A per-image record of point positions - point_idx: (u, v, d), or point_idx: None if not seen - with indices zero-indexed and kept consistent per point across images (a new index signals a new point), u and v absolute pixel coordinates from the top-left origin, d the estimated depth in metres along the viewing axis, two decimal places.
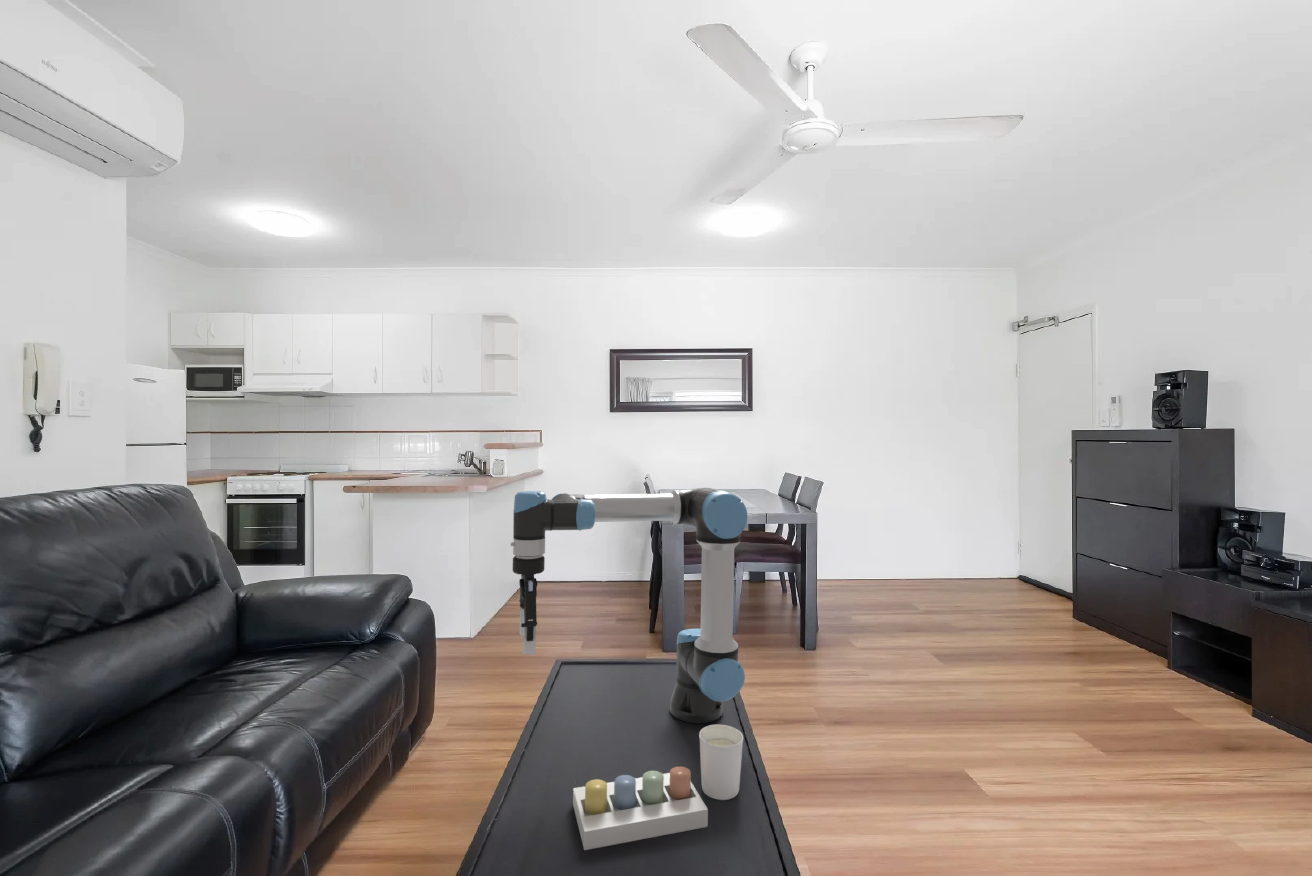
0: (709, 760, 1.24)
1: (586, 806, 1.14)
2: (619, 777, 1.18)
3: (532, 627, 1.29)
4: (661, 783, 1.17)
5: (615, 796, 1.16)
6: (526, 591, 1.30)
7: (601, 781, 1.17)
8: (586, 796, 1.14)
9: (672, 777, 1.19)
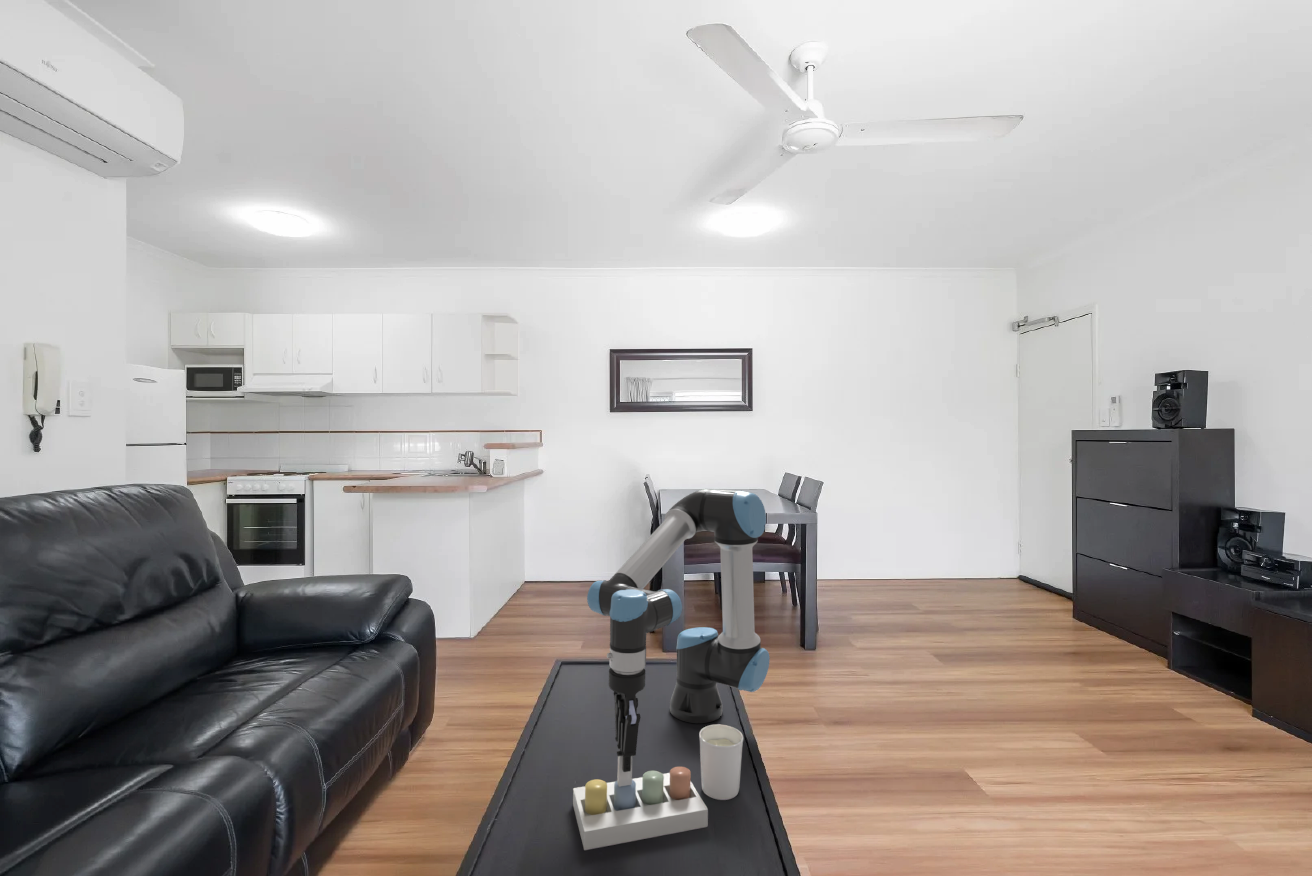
0: (709, 760, 1.24)
1: (586, 806, 1.14)
2: None
3: (629, 756, 1.15)
4: (661, 783, 1.17)
5: (615, 799, 1.16)
6: (628, 725, 1.11)
7: (601, 781, 1.17)
8: (586, 796, 1.14)
9: (672, 777, 1.19)
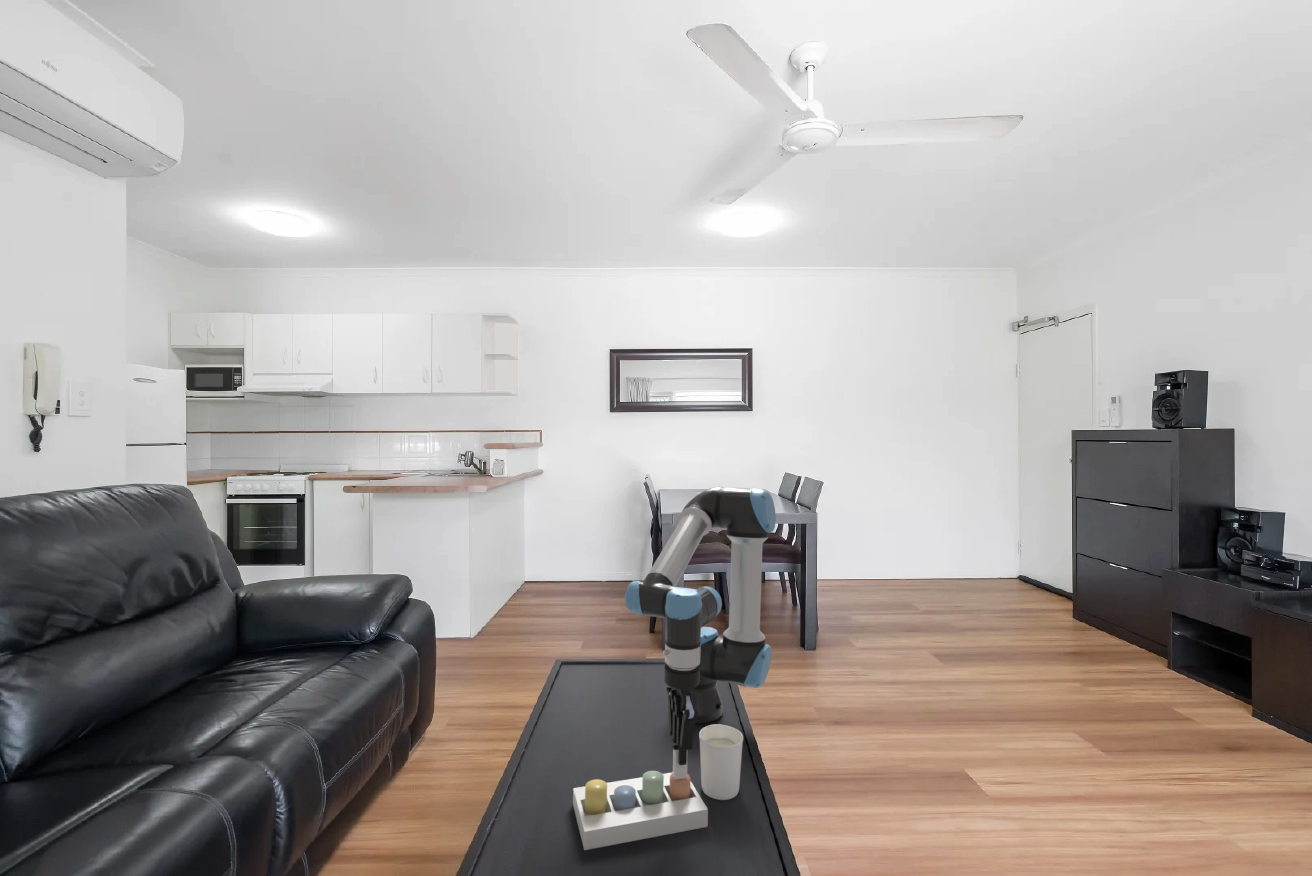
0: (709, 760, 1.24)
1: (586, 806, 1.14)
2: (619, 787, 1.18)
3: (685, 750, 1.18)
4: (661, 783, 1.17)
5: (615, 806, 1.16)
6: (685, 719, 1.15)
7: (601, 781, 1.17)
8: (586, 796, 1.14)
9: (672, 782, 1.19)
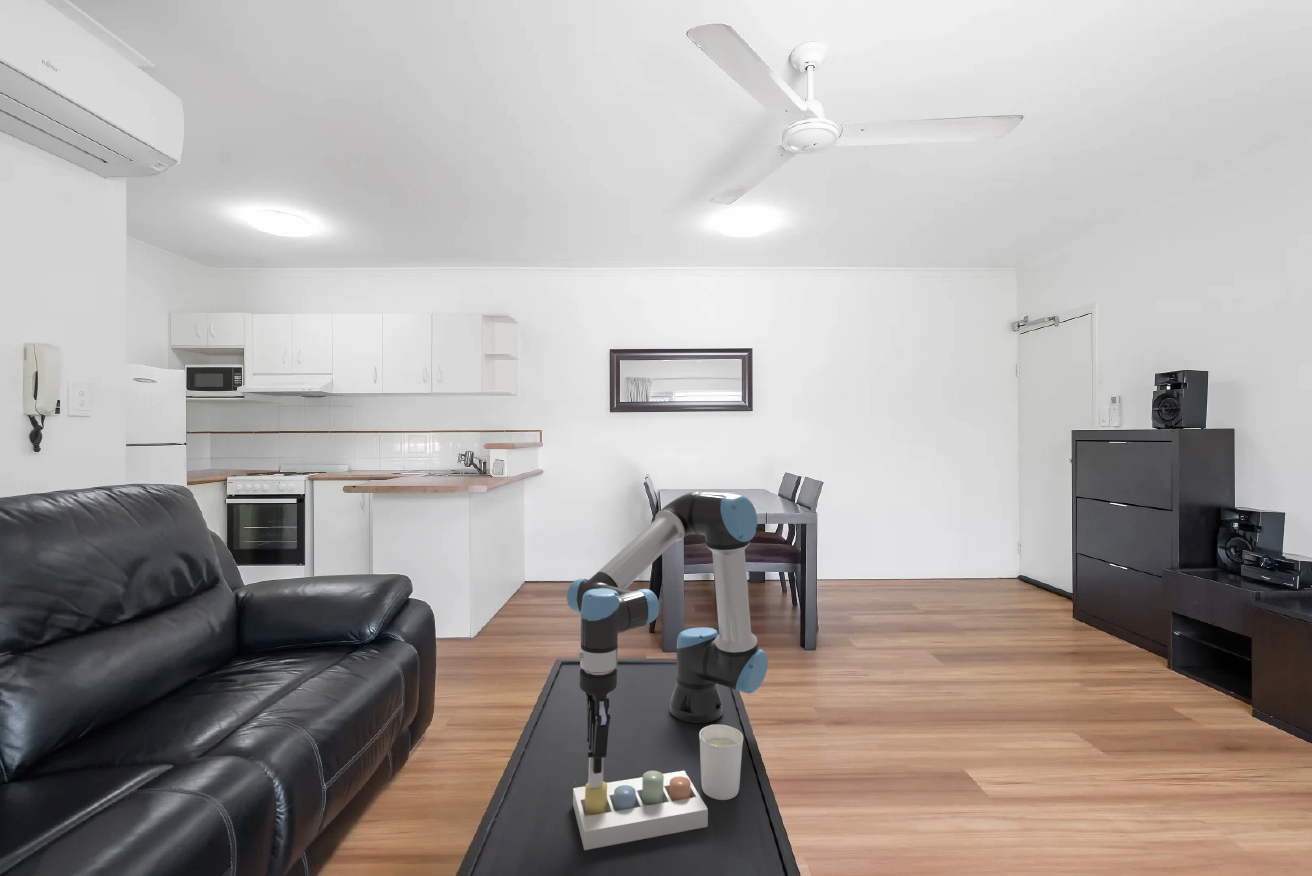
0: (709, 760, 1.24)
1: (586, 806, 1.14)
2: (619, 787, 1.18)
3: (600, 757, 1.13)
4: (661, 783, 1.17)
5: (615, 806, 1.16)
6: (598, 726, 1.10)
7: None
8: (586, 796, 1.14)
9: (672, 787, 1.19)
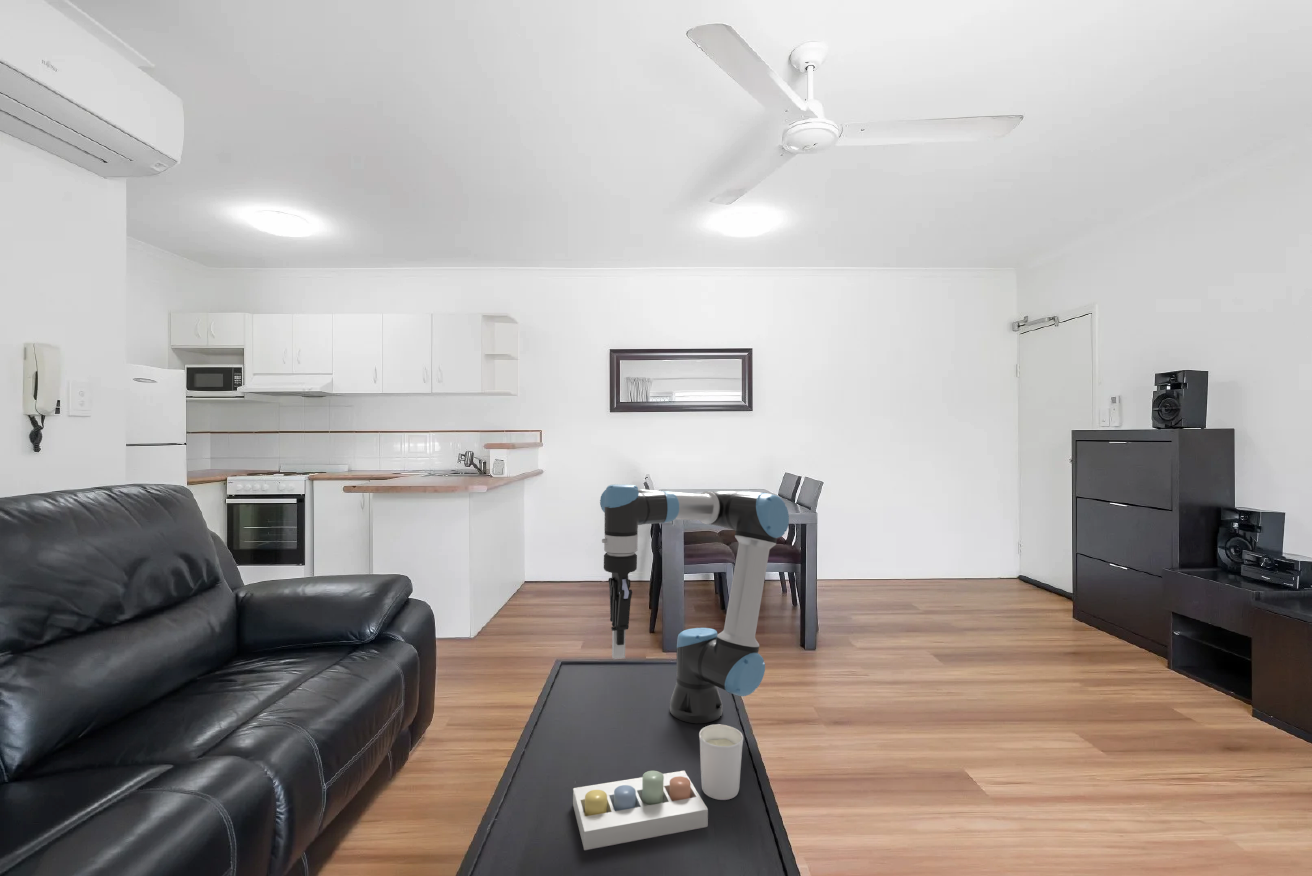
0: (709, 760, 1.24)
1: None
2: (619, 787, 1.18)
3: (623, 631, 1.27)
4: (661, 783, 1.17)
5: (615, 806, 1.16)
6: (621, 599, 1.23)
7: (601, 791, 1.17)
8: (586, 807, 1.14)
9: (672, 787, 1.19)
